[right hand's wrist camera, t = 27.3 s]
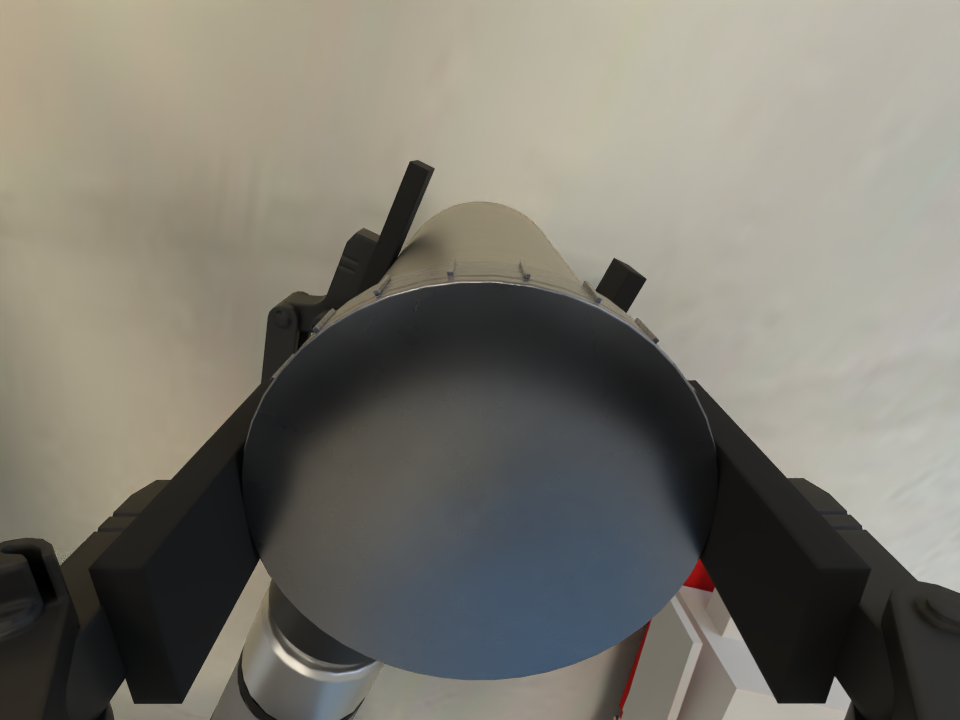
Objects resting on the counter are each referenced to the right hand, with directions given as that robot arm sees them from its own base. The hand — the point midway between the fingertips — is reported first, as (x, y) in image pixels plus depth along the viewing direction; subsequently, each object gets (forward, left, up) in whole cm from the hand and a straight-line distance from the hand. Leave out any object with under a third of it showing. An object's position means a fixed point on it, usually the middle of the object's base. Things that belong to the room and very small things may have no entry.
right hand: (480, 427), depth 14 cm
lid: (0, 0, +3) cm, 3 cm away
